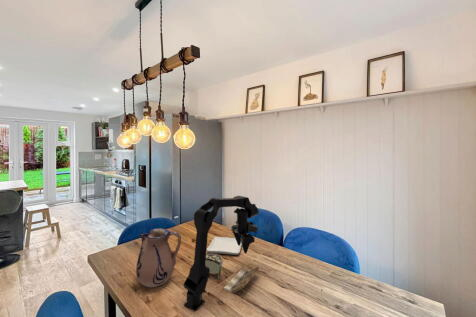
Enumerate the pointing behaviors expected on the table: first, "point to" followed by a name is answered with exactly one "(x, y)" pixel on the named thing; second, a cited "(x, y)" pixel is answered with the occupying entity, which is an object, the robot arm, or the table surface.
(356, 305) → the table surface
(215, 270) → the food container
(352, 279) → the table surface
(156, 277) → the ceramic pitcher
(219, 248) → the salad plate
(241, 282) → the board
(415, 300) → the table surface
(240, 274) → the ash board
